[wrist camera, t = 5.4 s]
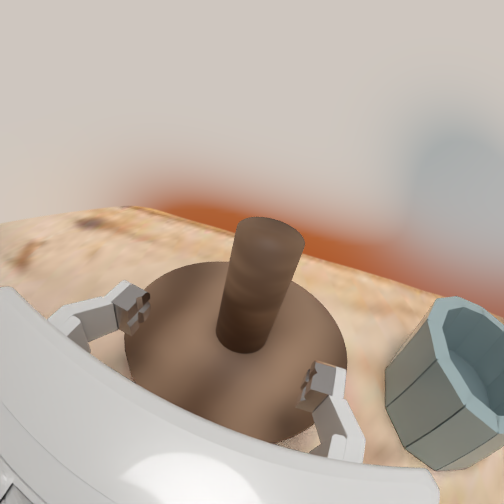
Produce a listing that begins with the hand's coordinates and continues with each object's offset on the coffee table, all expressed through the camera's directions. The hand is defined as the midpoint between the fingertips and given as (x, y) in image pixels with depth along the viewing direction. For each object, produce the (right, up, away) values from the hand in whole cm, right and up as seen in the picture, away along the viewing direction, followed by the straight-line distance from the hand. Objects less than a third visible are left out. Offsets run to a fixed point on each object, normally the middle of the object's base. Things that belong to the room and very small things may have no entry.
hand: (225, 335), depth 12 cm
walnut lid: (0, -3, +7) cm, 8 cm away
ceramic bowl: (+18, -9, +4) cm, 21 cm away
